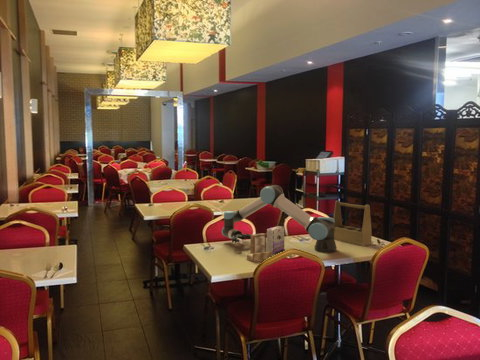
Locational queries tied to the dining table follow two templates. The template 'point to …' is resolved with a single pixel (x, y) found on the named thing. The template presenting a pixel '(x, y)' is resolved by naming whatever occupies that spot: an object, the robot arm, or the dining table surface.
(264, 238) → the wooden block
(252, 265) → the dining table surface
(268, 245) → the candy box
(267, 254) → the ledge
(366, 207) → the caddy
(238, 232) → the robot arm
